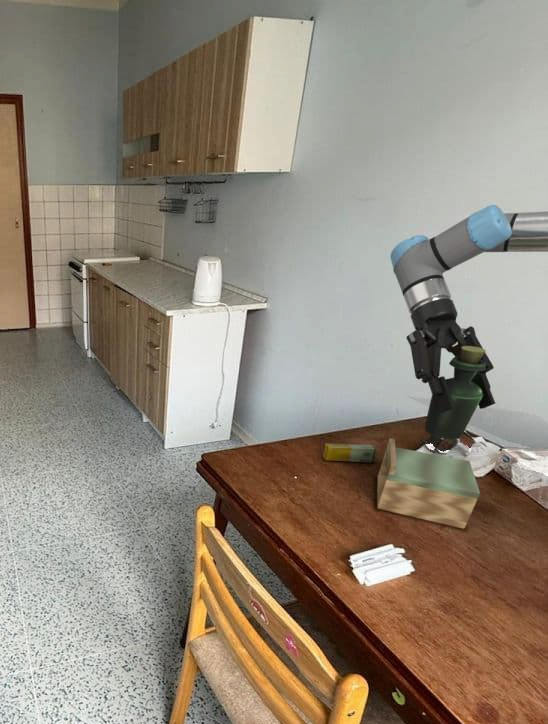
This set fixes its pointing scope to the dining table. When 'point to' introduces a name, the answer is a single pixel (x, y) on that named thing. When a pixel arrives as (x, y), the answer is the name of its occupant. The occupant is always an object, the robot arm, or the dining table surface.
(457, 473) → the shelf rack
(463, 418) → the potion bottle
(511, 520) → the dining table surface
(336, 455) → the medication box
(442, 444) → the pottery mug
